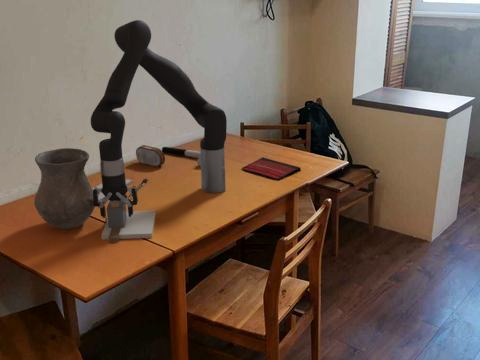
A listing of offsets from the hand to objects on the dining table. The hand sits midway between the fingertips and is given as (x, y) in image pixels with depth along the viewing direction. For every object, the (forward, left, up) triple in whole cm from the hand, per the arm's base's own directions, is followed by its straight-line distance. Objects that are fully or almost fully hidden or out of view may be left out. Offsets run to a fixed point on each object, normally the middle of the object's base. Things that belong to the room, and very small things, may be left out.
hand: (117, 216), depth 183 cm
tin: (-6, -62, -4) cm, 62 cm away
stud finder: (0, 0, -2) cm, 2 cm away
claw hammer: (-24, -73, -5) cm, 77 cm away
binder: (-58, -50, -5) cm, 77 cm away
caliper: (-4, -32, -4) cm, 33 cm away
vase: (+17, -3, -4) cm, 18 cm away
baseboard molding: (+12, -31, -5) cm, 33 cm away
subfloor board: (-4, 0, -4) cm, 6 cm away
